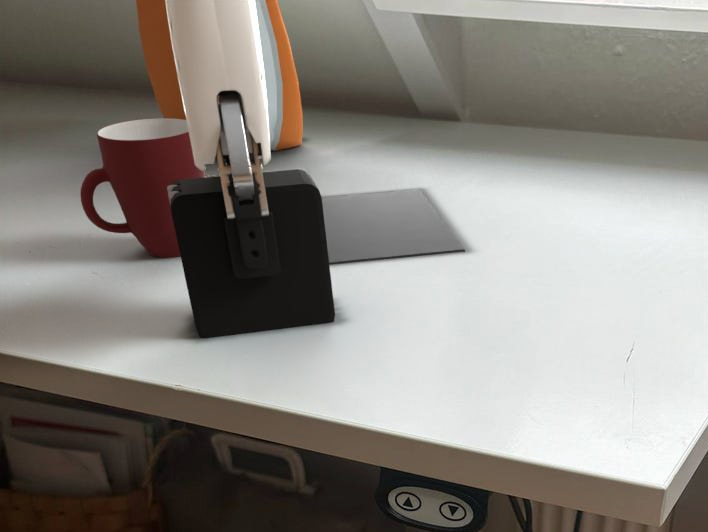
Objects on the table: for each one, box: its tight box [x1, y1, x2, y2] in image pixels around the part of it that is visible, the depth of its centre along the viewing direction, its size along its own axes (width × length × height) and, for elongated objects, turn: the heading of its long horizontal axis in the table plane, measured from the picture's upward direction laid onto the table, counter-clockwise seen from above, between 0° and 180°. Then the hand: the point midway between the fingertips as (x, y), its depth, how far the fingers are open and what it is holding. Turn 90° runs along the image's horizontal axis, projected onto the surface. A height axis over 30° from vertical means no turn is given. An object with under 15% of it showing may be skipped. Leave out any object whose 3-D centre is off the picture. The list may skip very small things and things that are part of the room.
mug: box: [79, 117, 206, 259], centre depth 79 cm, size 11×8×10 cm
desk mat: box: [321, 188, 466, 266], centre depth 87 cm, size 20×20×1 cm
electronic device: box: [167, 168, 336, 340], centre depth 67 cm, size 4×10×10 cm, turn 107°
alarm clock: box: [135, 0, 304, 151], centre depth 109 cm, size 22×10×23 cm, turn 42°
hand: (255, 261), depth 67 cm, fingers closed on electronic device, 4 cm apart
